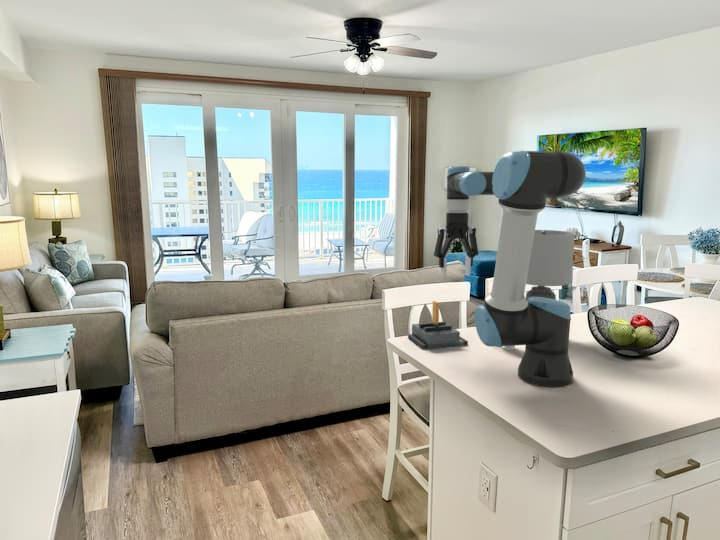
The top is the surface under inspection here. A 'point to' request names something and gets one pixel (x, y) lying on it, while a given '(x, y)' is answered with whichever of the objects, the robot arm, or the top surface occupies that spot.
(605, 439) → the top surface
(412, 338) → the dark gray bar
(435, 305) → the lever
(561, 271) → the lamp
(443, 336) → the box
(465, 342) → the gray slab
